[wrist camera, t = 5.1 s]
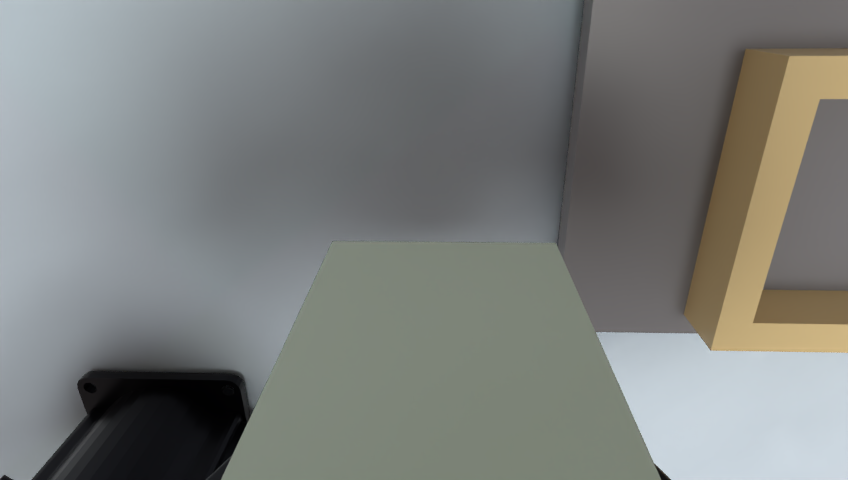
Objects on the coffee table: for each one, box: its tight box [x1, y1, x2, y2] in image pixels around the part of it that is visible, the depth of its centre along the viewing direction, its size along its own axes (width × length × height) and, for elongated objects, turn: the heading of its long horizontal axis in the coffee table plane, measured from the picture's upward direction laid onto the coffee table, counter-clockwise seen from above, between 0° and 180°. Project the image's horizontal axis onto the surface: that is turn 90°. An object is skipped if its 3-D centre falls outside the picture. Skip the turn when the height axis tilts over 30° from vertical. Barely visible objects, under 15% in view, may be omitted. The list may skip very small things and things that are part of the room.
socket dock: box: [558, 0, 848, 353], centre depth 15 cm, size 15×12×3 cm
